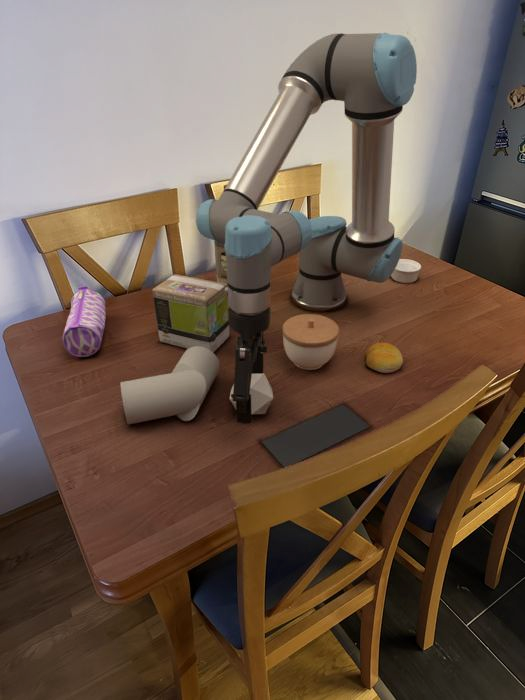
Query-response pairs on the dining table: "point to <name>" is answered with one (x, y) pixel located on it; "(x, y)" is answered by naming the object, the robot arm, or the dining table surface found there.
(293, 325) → the cork-lidded white jar
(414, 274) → the ramekin
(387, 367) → the bread roll
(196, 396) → the bent grey cylinder
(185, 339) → the tea box
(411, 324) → the dining table surface
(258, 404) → the die
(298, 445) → the edge mat
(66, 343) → the pencil case
